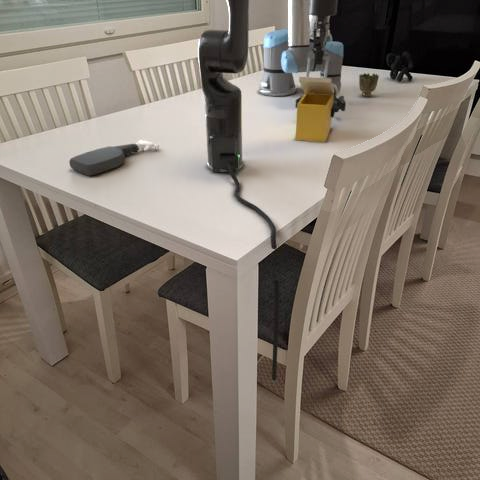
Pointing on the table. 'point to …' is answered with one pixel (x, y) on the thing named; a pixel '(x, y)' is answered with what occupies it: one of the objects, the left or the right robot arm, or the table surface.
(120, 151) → the spray bottle
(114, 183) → the table surface
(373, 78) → the cup
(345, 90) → the table surface
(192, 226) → the table surface
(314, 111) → the yellow hollow box
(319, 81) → the lid
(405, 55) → the squiggle
